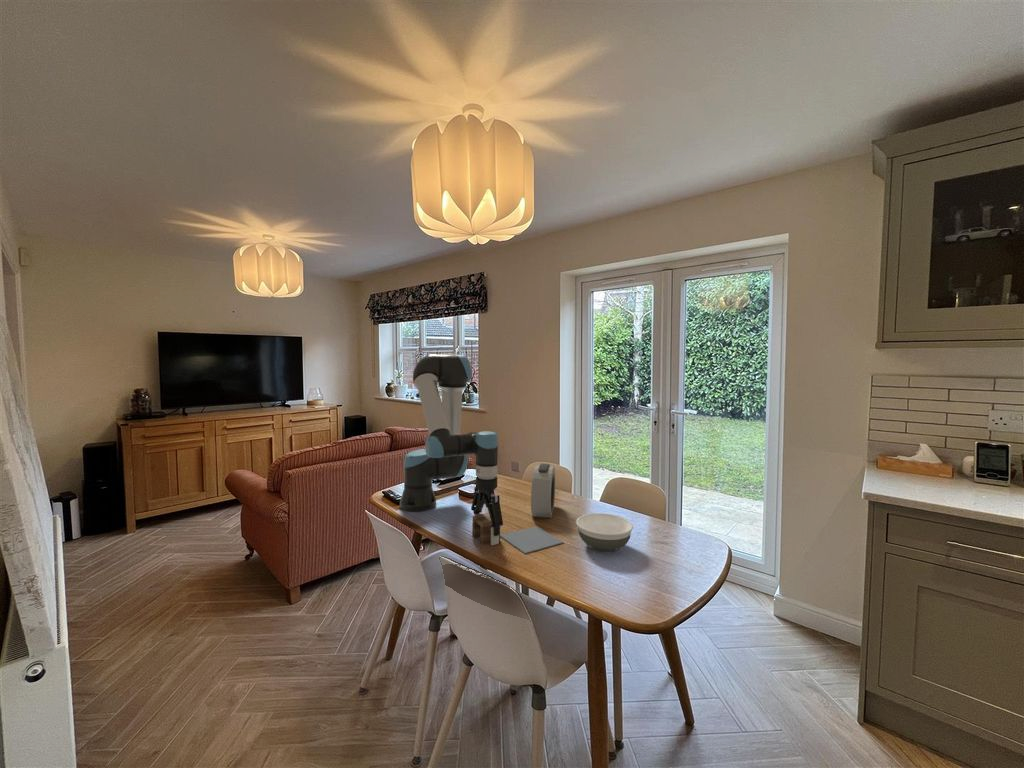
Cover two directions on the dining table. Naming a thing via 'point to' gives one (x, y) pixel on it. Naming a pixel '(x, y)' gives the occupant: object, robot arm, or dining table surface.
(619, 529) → the bowl
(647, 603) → the dining table surface
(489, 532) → the notched open box
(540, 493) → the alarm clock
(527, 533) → the mat
